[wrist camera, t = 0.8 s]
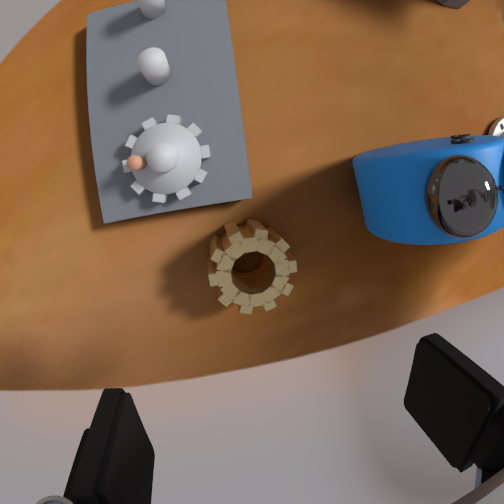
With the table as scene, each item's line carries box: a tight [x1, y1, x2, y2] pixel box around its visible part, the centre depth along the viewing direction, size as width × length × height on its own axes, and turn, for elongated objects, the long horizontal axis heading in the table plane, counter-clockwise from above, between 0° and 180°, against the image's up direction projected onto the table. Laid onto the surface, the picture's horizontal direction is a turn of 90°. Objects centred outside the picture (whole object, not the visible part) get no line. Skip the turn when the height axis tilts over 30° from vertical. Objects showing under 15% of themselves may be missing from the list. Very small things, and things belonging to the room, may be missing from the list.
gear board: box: [86, 0, 253, 223], centre depth 20 cm, size 12×19×6 cm, turn 7°
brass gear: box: [208, 218, 297, 314], centre depth 25 cm, size 6×6×5 cm
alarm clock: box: [352, 134, 504, 245], centre depth 20 cm, size 13×6×15 cm, turn 106°
